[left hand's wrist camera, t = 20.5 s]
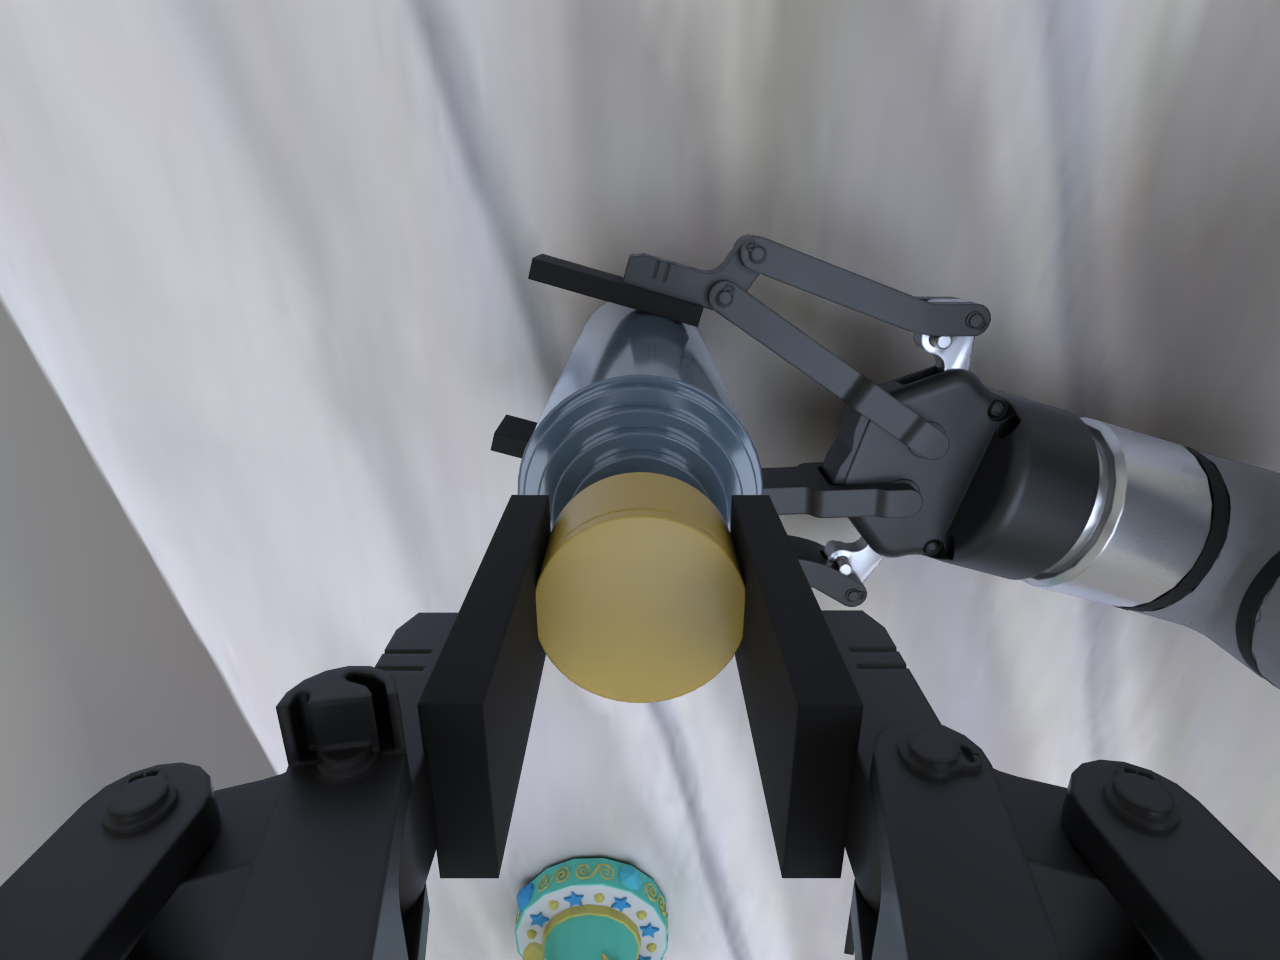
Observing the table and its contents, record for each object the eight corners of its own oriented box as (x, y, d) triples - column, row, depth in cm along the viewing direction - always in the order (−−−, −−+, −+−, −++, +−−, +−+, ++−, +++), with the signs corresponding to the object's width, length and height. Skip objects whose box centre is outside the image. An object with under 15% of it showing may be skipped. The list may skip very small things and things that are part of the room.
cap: (517, 590, 15) (497, 651, 13) (600, 437, 14) (593, 478, 12) (675, 663, 16) (681, 733, 14) (767, 523, 14) (789, 576, 12)
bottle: (715, 401, 36) (831, 696, 14) (596, 430, 36) (530, 758, 14) (687, 277, 33) (775, 400, 12) (561, 310, 34) (425, 485, 12)
